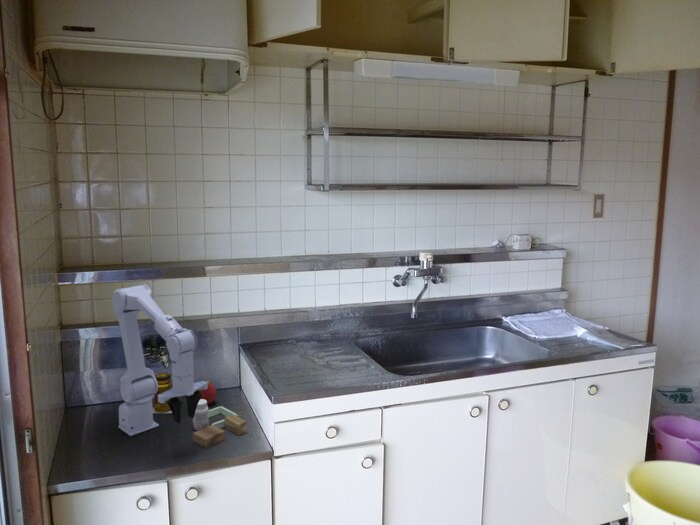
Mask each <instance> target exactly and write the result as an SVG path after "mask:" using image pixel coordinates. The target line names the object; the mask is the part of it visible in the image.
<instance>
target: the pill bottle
mask: <svg viewBox="0 0 700 525" xmlns="http://www.w3.org/2000/svg"><path fill="white" fill-rule="evenodd" d="M208 410H209V406H208V404H207V401H206V400H205V399H200V400H199V402H198V405H197V407H196V411H195V415H194V418H192V428H193V429H194V430H196V431H199V430H201V429H204V428H206V427H208V426H210V420H209V418H210V417H209V414H208Z"/></svg>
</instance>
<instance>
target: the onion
mask: <svg viewBox="0 0 700 525" xmlns="http://www.w3.org/2000/svg"><path fill="white" fill-rule="evenodd" d="M205 382H207V389H206V390H204V389H202V390H199V392H200V393H202V397H201V399H205V400H206V401H207V405H208V404H211V403H212V402H213V401H214V400H215V399H216V397H217V389H216V387H215V386H214V385H213V384H211V382H210V381H209V380H207V381H205Z"/></svg>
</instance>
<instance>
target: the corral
mask: <svg viewBox="0 0 700 525" xmlns="http://www.w3.org/2000/svg"><path fill="white" fill-rule="evenodd" d="M208 414H209V418H212V417H214V416H216V415H220V414H222V415H224V417H227V416H229V415H232V414H233V415H235V416H237V417H239V416H240V415H239V414H238V413H235V412H233V410H232V411H231V410H229V409H228V408H226V407H224V406H223V405H221V406H218V407H214V408H211V409H208ZM239 418H240V417H239ZM211 425H213V426H215V427H217V428H219V429H222V428H225V418H224V419H222V420H219V421H218V420H217V421H216V422H213V423H211Z"/></svg>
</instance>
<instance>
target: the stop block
mask: <svg viewBox="0 0 700 525" xmlns="http://www.w3.org/2000/svg"><path fill="white" fill-rule="evenodd" d="M224 419H225V427H224V428H225V430H226V429H227V430H228V431H230V432H231V433H233V434H235V435H237V436H241V435H243V434H246V433H247V420H244V419H243V418H240V417H237V416H235V415H233V414H232V415H229V416H224Z"/></svg>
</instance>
